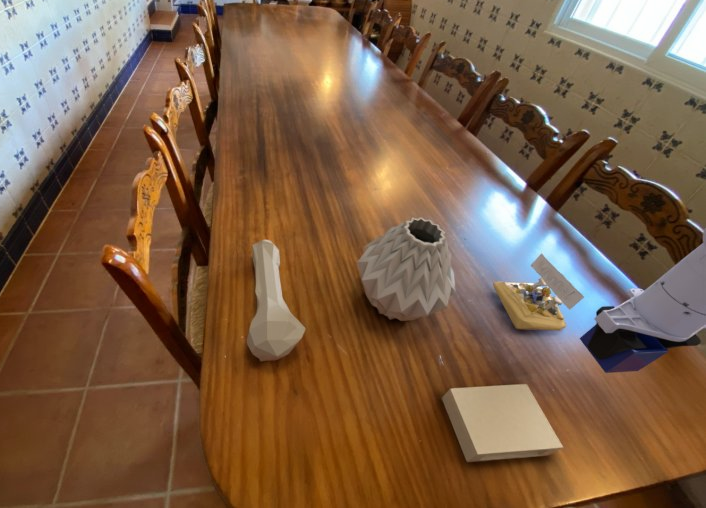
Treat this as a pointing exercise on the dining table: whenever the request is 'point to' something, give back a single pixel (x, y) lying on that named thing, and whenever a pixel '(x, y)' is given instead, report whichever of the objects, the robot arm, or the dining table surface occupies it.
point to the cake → (538, 298)
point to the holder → (629, 354)
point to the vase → (408, 270)
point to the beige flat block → (499, 423)
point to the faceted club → (271, 308)
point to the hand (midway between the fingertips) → (612, 351)
